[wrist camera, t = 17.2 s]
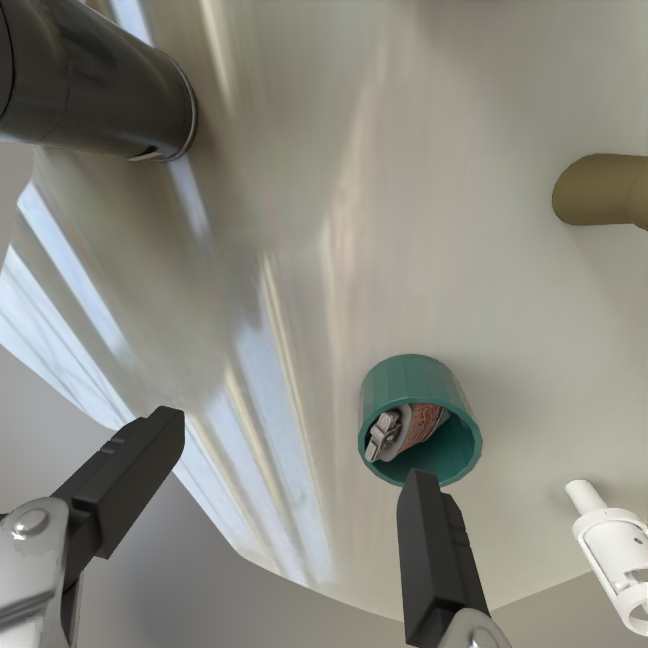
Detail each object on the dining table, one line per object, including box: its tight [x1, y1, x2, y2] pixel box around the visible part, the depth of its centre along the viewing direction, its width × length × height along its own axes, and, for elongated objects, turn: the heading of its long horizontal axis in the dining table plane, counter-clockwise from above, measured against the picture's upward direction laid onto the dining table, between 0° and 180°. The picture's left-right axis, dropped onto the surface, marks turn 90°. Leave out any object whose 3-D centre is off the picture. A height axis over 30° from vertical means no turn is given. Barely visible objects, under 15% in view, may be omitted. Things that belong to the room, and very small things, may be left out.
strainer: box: [565, 480, 648, 637], centre depth 35 cm, size 7×7×15 cm
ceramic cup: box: [358, 354, 483, 487], centre depth 36 cm, size 12×12×8 cm
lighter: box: [365, 403, 446, 463], centre depth 35 cm, size 8×3×10 cm
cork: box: [552, 154, 648, 231], centre depth 23 cm, size 6×6×11 cm
